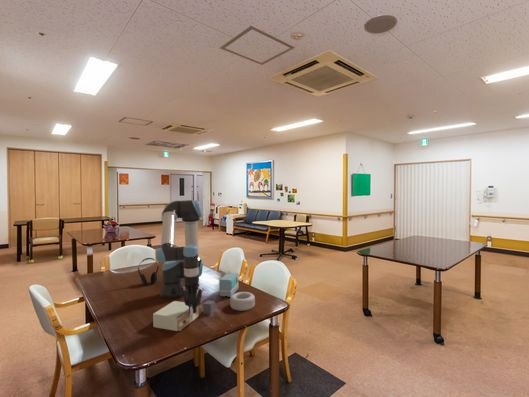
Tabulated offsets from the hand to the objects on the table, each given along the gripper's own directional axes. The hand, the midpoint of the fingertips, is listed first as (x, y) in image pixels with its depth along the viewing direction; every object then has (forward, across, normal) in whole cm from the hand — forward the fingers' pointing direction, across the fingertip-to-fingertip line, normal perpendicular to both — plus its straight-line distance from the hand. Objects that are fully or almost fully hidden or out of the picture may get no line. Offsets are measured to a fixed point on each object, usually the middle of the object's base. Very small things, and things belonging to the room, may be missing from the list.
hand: (193, 318), depth 154 cm
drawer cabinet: (+3, -11, 0) cm, 11 cm away
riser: (+3, +1, +15) cm, 15 cm away
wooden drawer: (+3, -9, 0) cm, 9 cm away
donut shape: (+3, +16, +29) cm, 33 cm away
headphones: (+3, -69, +46) cm, 83 cm away
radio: (+3, 0, +46) cm, 46 cm away
